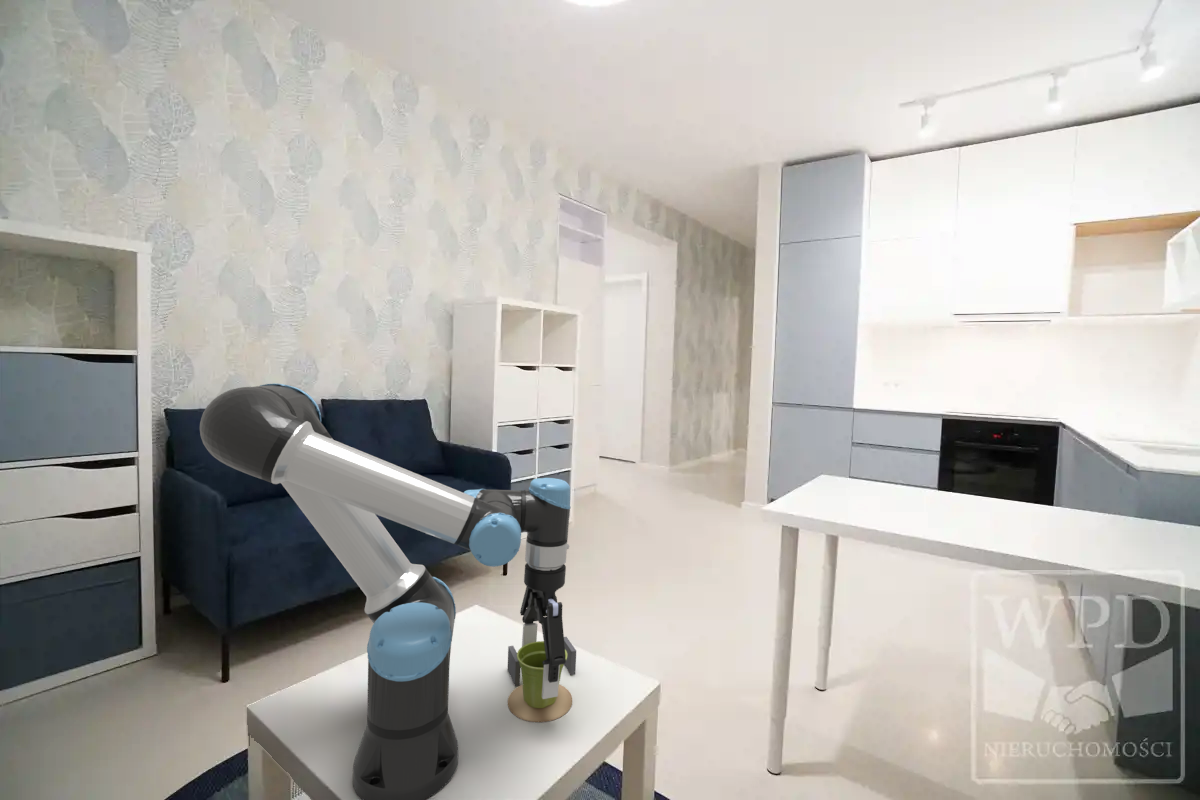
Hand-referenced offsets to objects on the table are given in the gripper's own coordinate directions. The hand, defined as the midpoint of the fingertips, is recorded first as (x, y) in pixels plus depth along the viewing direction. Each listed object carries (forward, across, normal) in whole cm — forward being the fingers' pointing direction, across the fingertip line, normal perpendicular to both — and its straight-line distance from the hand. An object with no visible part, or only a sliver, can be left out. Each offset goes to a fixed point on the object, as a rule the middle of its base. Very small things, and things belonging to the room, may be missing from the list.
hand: (538, 675), depth 99 cm
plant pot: (+5, 0, -1) cm, 5 cm away
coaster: (+5, 0, -1) cm, 5 cm away
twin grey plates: (+5, +9, -4) cm, 11 cm away
